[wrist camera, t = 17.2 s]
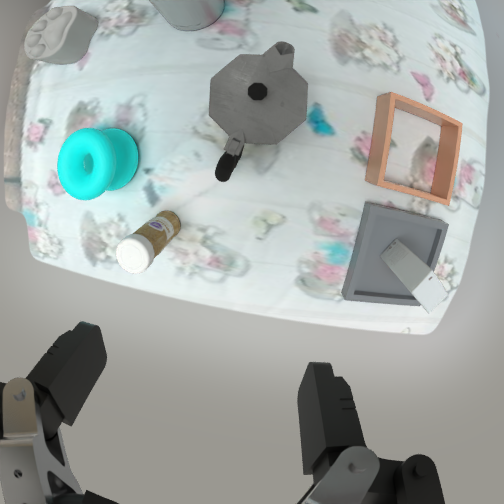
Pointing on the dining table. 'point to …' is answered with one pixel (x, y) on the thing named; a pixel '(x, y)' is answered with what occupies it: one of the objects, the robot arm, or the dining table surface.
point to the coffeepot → (257, 102)
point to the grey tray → (376, 242)
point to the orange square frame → (446, 150)
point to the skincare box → (414, 275)
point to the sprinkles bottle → (147, 242)
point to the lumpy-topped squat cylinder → (61, 36)
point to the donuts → (96, 162)
